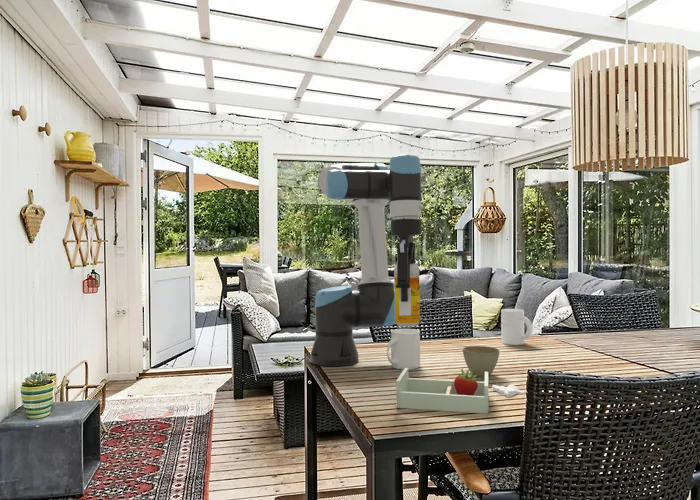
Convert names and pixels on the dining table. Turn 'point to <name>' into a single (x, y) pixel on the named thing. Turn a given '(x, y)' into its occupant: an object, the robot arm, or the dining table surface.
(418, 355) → the mug
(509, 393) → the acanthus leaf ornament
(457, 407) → the crate
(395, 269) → the beer can
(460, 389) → the fruit
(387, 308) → the robot arm
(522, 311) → the mug
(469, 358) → the flower pot
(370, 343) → the dining table surface
